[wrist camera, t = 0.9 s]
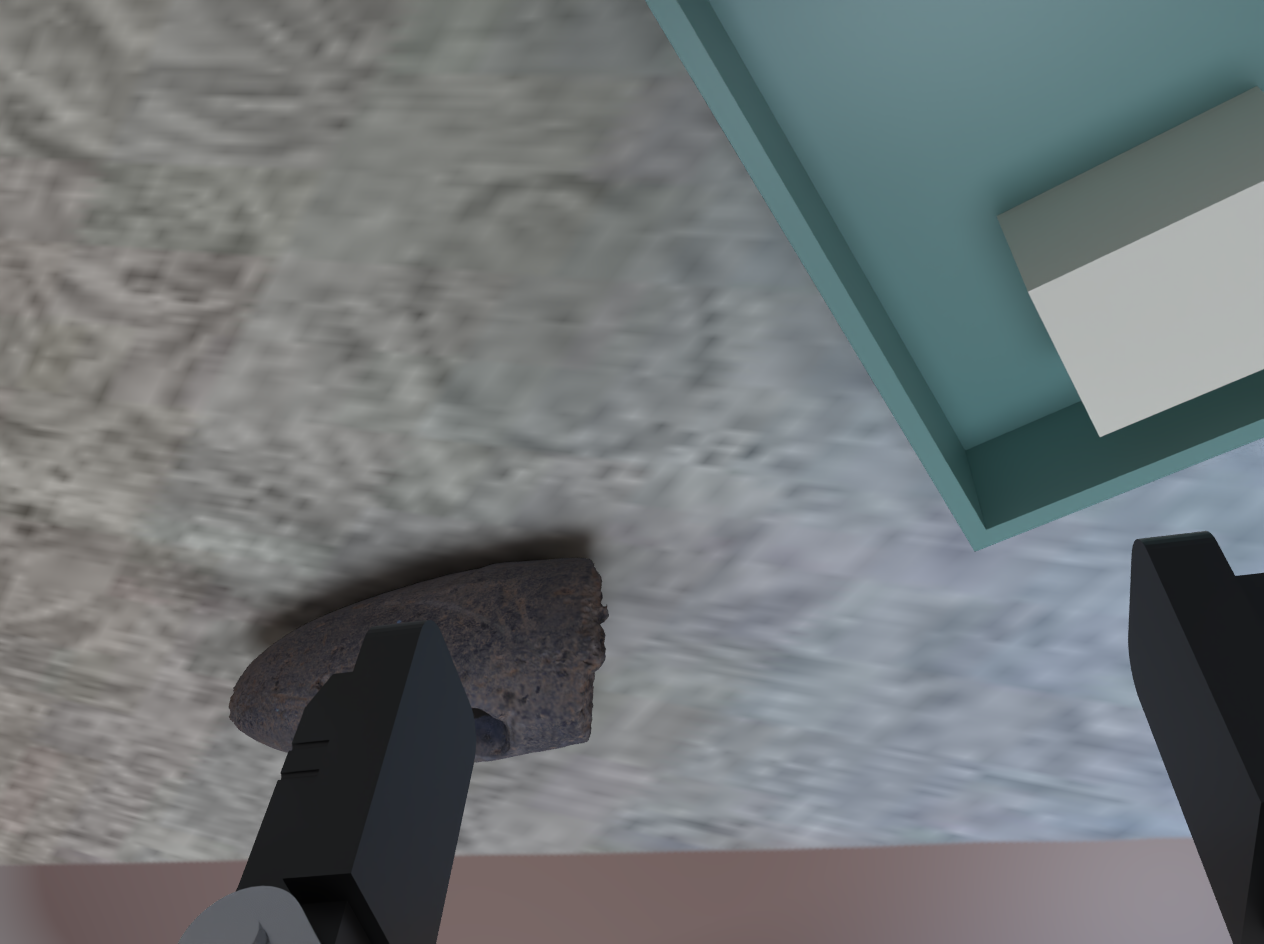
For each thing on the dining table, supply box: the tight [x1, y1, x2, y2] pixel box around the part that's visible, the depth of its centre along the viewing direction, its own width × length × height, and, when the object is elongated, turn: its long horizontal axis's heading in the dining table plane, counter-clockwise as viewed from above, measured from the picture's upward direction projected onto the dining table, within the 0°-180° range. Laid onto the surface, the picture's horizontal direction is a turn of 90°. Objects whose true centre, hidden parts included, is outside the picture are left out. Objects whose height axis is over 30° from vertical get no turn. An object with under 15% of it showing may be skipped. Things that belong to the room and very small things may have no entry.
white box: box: [997, 86, 1264, 437], centre depth 31 cm, size 7×5×4 cm
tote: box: [645, 0, 1264, 551], centre depth 30 cm, size 16×19×5 cm
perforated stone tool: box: [229, 558, 609, 762], centre depth 42 cm, size 15×5×7 cm, turn 106°
